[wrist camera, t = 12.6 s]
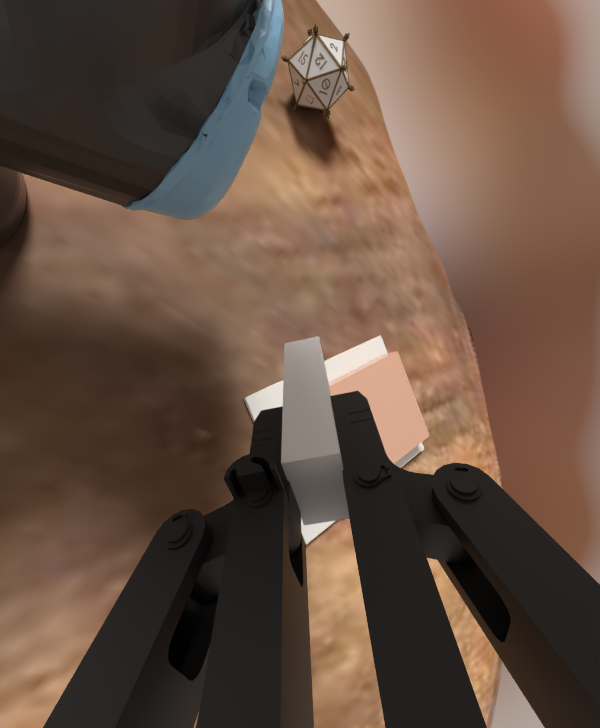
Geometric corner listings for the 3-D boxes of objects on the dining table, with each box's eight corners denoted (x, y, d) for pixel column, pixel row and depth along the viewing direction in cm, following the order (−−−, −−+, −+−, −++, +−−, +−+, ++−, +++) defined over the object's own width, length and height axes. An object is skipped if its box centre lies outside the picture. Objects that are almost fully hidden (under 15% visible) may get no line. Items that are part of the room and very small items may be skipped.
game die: (293, 113, 47) (345, 44, 42) (323, 149, 44) (381, 81, 40) (255, 66, 39) (313, -24, 34) (289, 108, 37) (355, 17, 32)
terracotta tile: (334, 495, 36) (415, 434, 43) (347, 500, 34) (429, 435, 41) (295, 399, 35) (384, 354, 43) (306, 398, 33) (397, 351, 41)
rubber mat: (303, 542, 34) (306, 544, 33) (243, 398, 33) (245, 398, 32) (420, 448, 44) (424, 448, 44) (377, 336, 43) (380, 335, 43)
